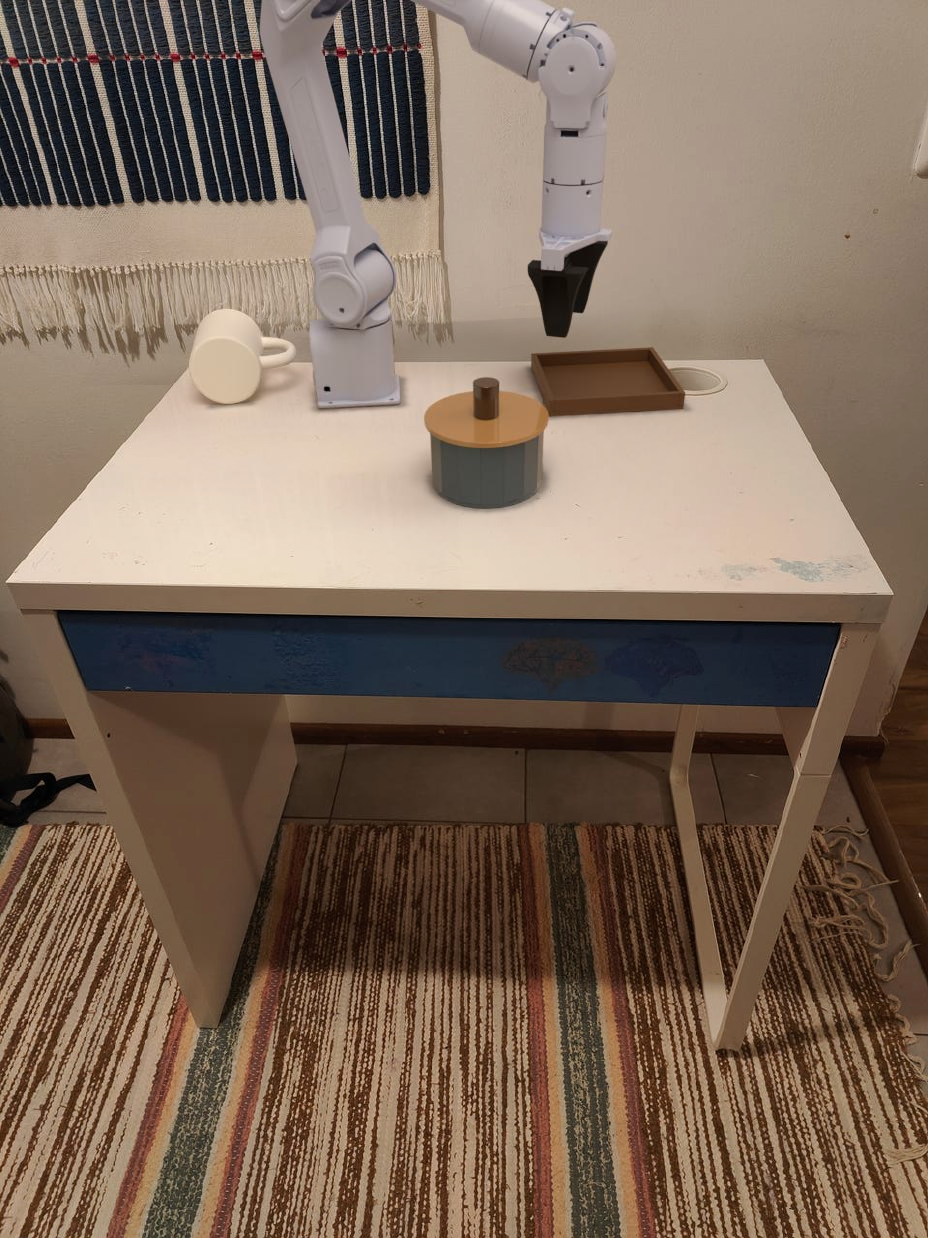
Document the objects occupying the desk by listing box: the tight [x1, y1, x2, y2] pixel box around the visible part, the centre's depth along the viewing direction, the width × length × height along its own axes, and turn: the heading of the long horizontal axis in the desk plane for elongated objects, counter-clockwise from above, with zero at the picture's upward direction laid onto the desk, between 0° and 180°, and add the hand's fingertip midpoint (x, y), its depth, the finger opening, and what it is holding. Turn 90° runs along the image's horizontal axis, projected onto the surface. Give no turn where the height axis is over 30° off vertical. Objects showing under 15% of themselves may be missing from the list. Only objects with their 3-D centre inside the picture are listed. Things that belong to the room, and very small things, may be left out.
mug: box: [188, 308, 297, 405], centre depth 102 cm, size 12×10×8 cm
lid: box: [423, 376, 550, 448], centre depth 79 cm, size 12×12×4 cm
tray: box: [530, 346, 686, 417], centre depth 101 cm, size 15×14×2 cm
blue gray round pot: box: [429, 430, 545, 509], centre depth 82 cm, size 11×11×6 cm
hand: (565, 323), depth 90 cm, fingers open, 7 cm apart
